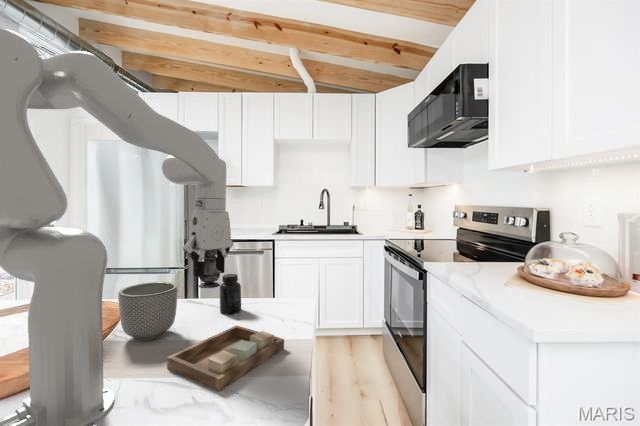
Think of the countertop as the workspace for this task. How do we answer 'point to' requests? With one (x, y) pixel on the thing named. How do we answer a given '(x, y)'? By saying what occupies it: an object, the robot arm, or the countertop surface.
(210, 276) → the salt shaker
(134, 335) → the planter
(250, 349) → the cube
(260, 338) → the cube
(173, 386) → the countertop surface
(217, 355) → the cube
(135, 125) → the robot arm
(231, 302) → the supplement bottle
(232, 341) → the tray
